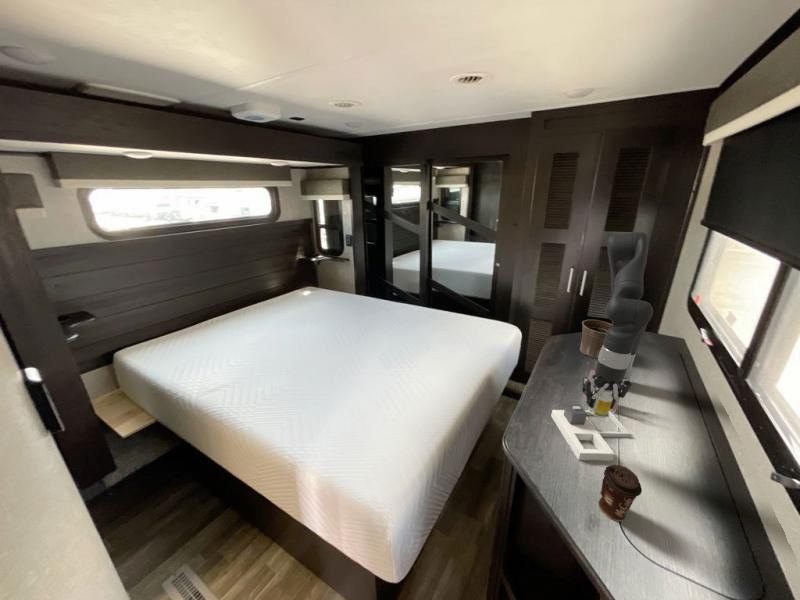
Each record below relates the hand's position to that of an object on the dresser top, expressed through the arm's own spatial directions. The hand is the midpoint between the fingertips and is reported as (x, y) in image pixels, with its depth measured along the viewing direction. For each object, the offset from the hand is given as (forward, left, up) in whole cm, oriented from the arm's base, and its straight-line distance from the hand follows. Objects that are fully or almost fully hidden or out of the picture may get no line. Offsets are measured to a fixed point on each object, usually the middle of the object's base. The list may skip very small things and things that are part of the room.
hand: (599, 406), depth 97 cm
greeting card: (-18, -23, -18) cm, 34 cm away
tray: (-12, -11, -18) cm, 24 cm away
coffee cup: (+5, +21, -18) cm, 28 cm away
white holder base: (0, -5, -18) cm, 18 cm away
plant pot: (-38, -63, -18) cm, 76 cm away
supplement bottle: (0, 0, -3) cm, 3 cm away
